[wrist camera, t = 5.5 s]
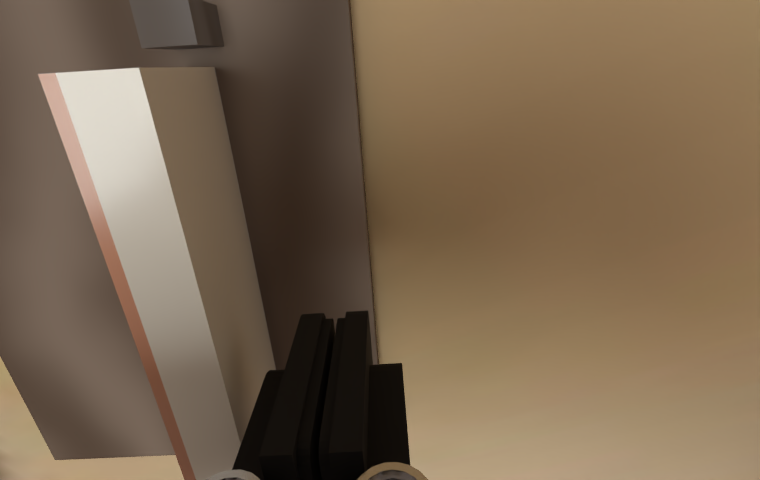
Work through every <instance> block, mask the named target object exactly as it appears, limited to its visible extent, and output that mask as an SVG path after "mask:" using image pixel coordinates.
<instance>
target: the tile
mask: <svg viewBox="0 0 760 480" xmlns="http://www.w3.org/2000/svg"><path fill="white" fill-rule="evenodd" d="M38 76H39V79H40V81H41V84H42V87H43V90H44V92H45V95H46V98H47V101H48V103H49V106H50V109H51V112H52V115H53V117H54V120H55V123H56V126H57V128H58V131H59V134H60V137H61V139H62V142H63V145H64V148H65V150H66V153H67V156H68V159H69V162H70V164H71V167H72V170H73V173H74V175H75V178H76V181H77V184H78V186H79V189H80V192H81V195H82V197H83V200H84V203H85V206H86V208H87V211H88V214H89V217H90V220H91V222H92V225H93V228H94V231H95V233H96V236H97V239H98V242H99V244H100V247H101V250H102V253H103V255H104V258H105V261H106V264H107V267H108V269H109V272H110V275H111V278H112V280H113V283H114V286H115V289H116V291H117V294H118V297H119V300H120V302H121V305H122V308H123V311H124V313H125V316H126V319H127V322H128V325H129V327H130V330H131V333H132V336H133V338H134V341H135V344H136V347H137V349H138V352H139V355H140V358H141V360H142V363H143V366H144V369H145V372H146V374H147V377H148V380H149V383H150V385H151V388H152V391H153V394H154V396H155V399H156V402H157V405H158V407H159V410H160V413H161V416H162V419H163V421H164V424H165V427H166V430H167V432H168V435H169V438H170V441H171V443H172V446H173V449H174V452H175V454H176V457H177V460H178V463H179V465H180V468H181V471H182V474H183V477H184V479H185V480H206V479H208V478H210V477H211V476H213V475H215V474H218V473H221V472H224V471H227V470H232V468H233V465H234V462H235V460H236V457H237V454H238V451H239V448H240V445H241V443H242V440H243V437H244V434H245V431H246V429H247V426H248V423H249V420H250V417H251V414H252V412H253V409H254V406H255V403H256V400H257V397H258V395H259V392H260V389H261V386H262V383H263V381H264V378H265V375H266V373H267V372H268V371H269V370H276V366H275V361H274V356H273V351H272V346H271V341H270V336H269V331H268V327H267V322H266V317H265V312H264V307H263V302H262V297H261V292H260V287H259V282H258V277H257V272H256V267H255V263H254V258H253V253H252V248H251V243H250V238H249V233H248V228H247V223H246V218H245V213H244V208H243V203H242V199H241V194H240V189H239V184H238V179H237V174H236V169H235V164H234V159H233V154H232V149H231V144H230V140H229V135H228V130H227V125H226V120H225V115H224V110H223V105H222V100H221V95H220V90H219V85H218V80H217V76H216V71H215V67H155V68H125V69H110V70H94V71H78V72H63V73H47V74H38Z"/></svg>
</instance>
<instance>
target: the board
mask: <svg viewBox="0 0 760 480" xmlns="http://www.w3.org/2000/svg"><path fill="white" fill-rule="evenodd" d="M155 67H215V71H216V76H217V80H218V85H219V90H220V95H221V100H222V105H223V110H224V115H225V120H226V125H227V130H228V135H229V140H230V144H231V149H232V154H233V159H234V164H235V169H236V174H237V179H238V184H239V189H240V194H241V199H242V203H243V208H244V213H245V218H246V223H247V228H248V233H249V238H250V243H251V248H252V253H253V258H254V263H255V267H256V272H257V277H258V282H259V287H260V292H261V297H262V302H263V307H264V312H265V317H266V322H267V327H268V331H269V336H270V341H271V346H272V351H273V356H274V361H275V366H276V370H283V369H285V366H286V363H287V360H288V356H289V353H290V350H291V346H292V343H293V340H294V336H295V333H296V330H297V326H298V323H299V319H300V316H301V315H302V314H314V313H324V314H325V317H326V319H330V318H333V321H334V327H335V332H336V325H337V319H338V318H345V315H346V312H349V311H367V310H368V312H369V322H370V333H371V345H372V357H373V365H377V364H379V361H378V349H377V336H376V323H375V311H374V298H373V286H372V273H371V260H370V248H369V235H368V222H367V210H366V197H365V184H364V172H363V159H362V146H361V134H360V121H359V108H358V96H357V83H356V70H355V58H354V45H353V32H352V20H351V7H350V0H0V356H1V358H2V360H3V362H4V364H5V366H6V368H7V370H8V372H9V373H10V375H11V377H12V379H13V381H14V383H15V385H16V387H17V389H18V391H19V392H20V394H21V396H22V398H23V400H24V402H25V404H26V406H27V408H28V409H29V411H30V413H31V415H32V417H33V419H34V421H35V423H36V425H37V427H38V428H39V430H40V432H41V434H42V436H43V438H44V440H45V442H46V444H47V445H48V447H49V449H50V451H51V453H52V455H53V457H54V459H55V460H67V459H91V458H114V457H137V456H161V455H176V454H175V452H174V449H173V446H172V443H171V441H170V438H169V435H168V432H167V430H166V427H165V424H164V421H163V419H162V416H161V413H160V410H159V407H158V405H157V402H156V399H155V396H154V394H153V391H152V388H151V385H150V383H149V380H148V377H147V374H146V372H145V369H144V366H143V363H142V360H141V358H140V355H139V352H138V349H137V347H136V344H135V341H134V338H133V336H132V333H131V330H130V327H129V325H128V322H127V319H126V316H125V313H124V311H123V308H122V305H121V302H120V300H119V297H118V294H117V291H116V289H115V286H114V283H113V280H112V278H111V275H110V272H109V269H108V267H107V264H106V261H105V258H104V255H103V253H102V250H101V247H100V244H99V242H98V239H97V236H96V233H95V231H94V228H93V225H92V222H91V220H90V217H89V214H88V211H87V208H86V206H85V203H84V200H83V197H82V195H81V192H80V189H79V186H78V184H77V181H76V178H75V175H74V173H73V170H72V167H71V164H70V162H69V159H68V156H67V153H66V150H65V148H64V145H63V142H62V139H61V137H60V134H59V131H58V128H57V126H56V123H55V120H54V117H53V115H52V112H51V109H50V106H49V103H48V101H47V98H46V95H45V92H44V90H43V87H42V84H41V81H40V79H39V76H38V74H47V73H63V72H78V71H94V70H110V69H125V68H155Z"/></svg>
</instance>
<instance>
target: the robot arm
mask: <svg viewBox="0 0 760 480" xmlns="http://www.w3.org/2000/svg"><path fill="white" fill-rule="evenodd" d="M206 480H428V479H427V478H426V477H425V476H424V475H423V474H422V473H421V472H420V471H419V470H417V469H415V468H414V467H412V466H410V457H409V445H408V433H407V420H406V408H405V396H404V383H403V371H402V363H396V364H377V365H373V357H372V345H371V333H370V322H369V312H368V310H367V311H349V312H346V315H345V318H338V319H337V325H336V332H335V327H334V321H333V318H330V319H326V317H325V314H324V313H314V314H302V315H301V316H300V319H299V323H298V326H297V330H296V333H295V336H294V340H293V343H292V346H291V350H290V353H289V356H288V360H287V363H286V366H285V369H283V370H269V371H268V372H267V373H266V375H265V378H264V381H263V383H262V386H261V389H260V392H259V395H258V397H257V400H256V403H255V406H254V409H253V412H252V414H251V417H250V420H249V423H248V426H247V429H246V431H245V434H244V437H243V440H242V443H241V445H240V448H239V451H238V454H237V457H236V460H235V462H234V465H233V468H232V470H227V471H224V472H221V473H218V474H215V475H213V476H211V477H210V478H208V479H206Z"/></svg>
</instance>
